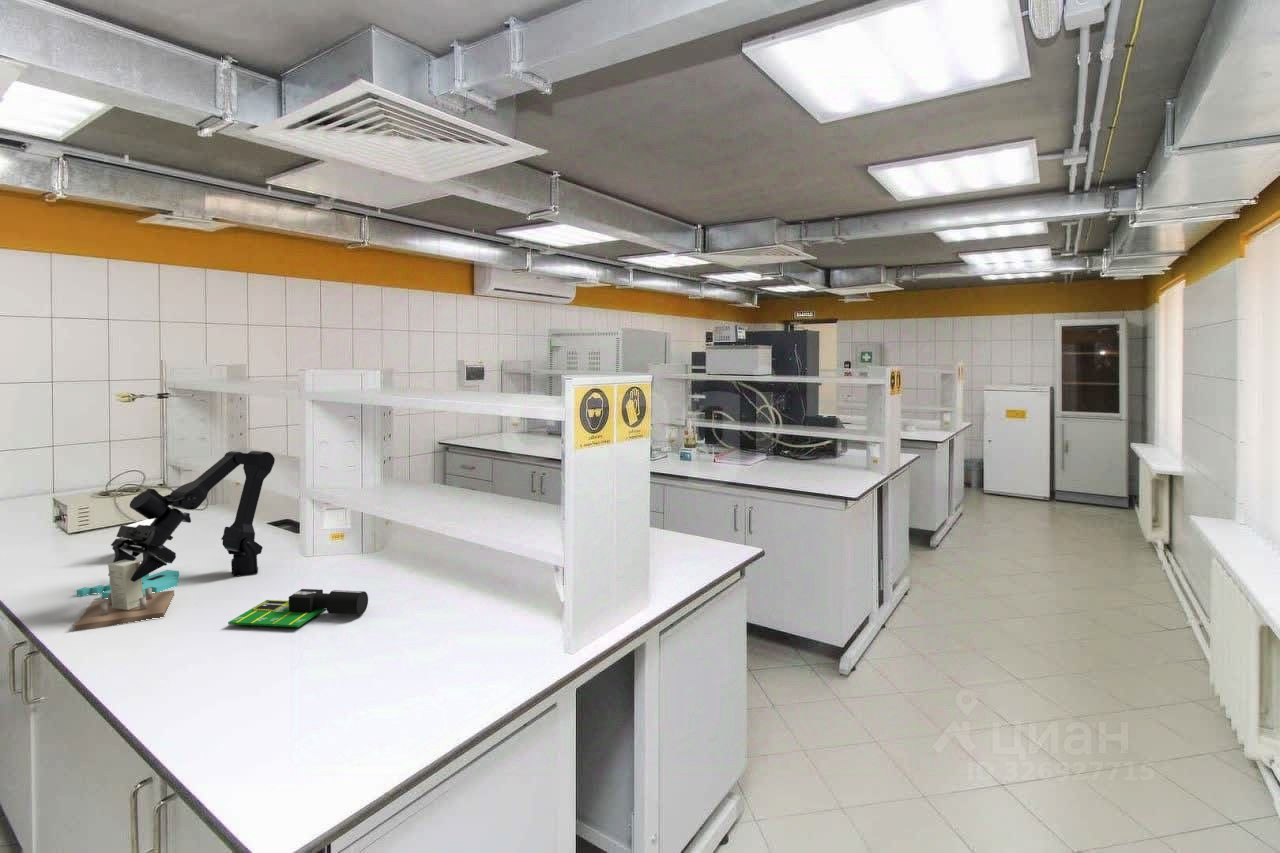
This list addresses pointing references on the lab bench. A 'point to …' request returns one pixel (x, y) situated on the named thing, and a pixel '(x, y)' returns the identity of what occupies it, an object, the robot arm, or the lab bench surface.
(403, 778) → the lab bench surface
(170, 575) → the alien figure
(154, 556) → the robot arm
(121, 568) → the skincare box
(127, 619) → the peg board
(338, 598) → the circuit board with cylinder
